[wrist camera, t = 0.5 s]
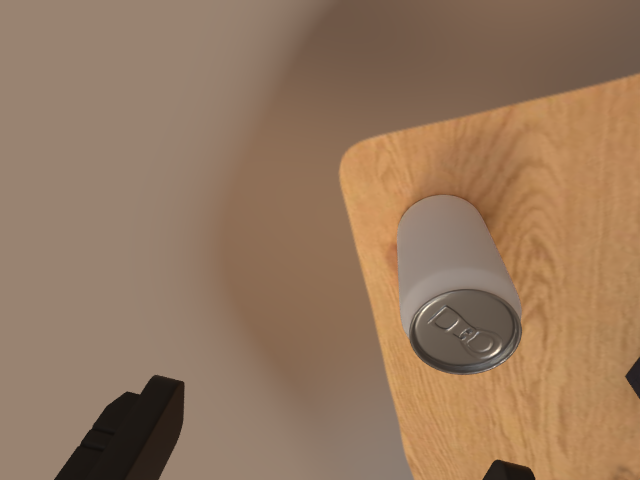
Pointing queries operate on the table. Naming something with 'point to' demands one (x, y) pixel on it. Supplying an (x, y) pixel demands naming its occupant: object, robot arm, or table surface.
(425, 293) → the can
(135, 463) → the robot arm
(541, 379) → the table surface
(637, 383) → the crate
